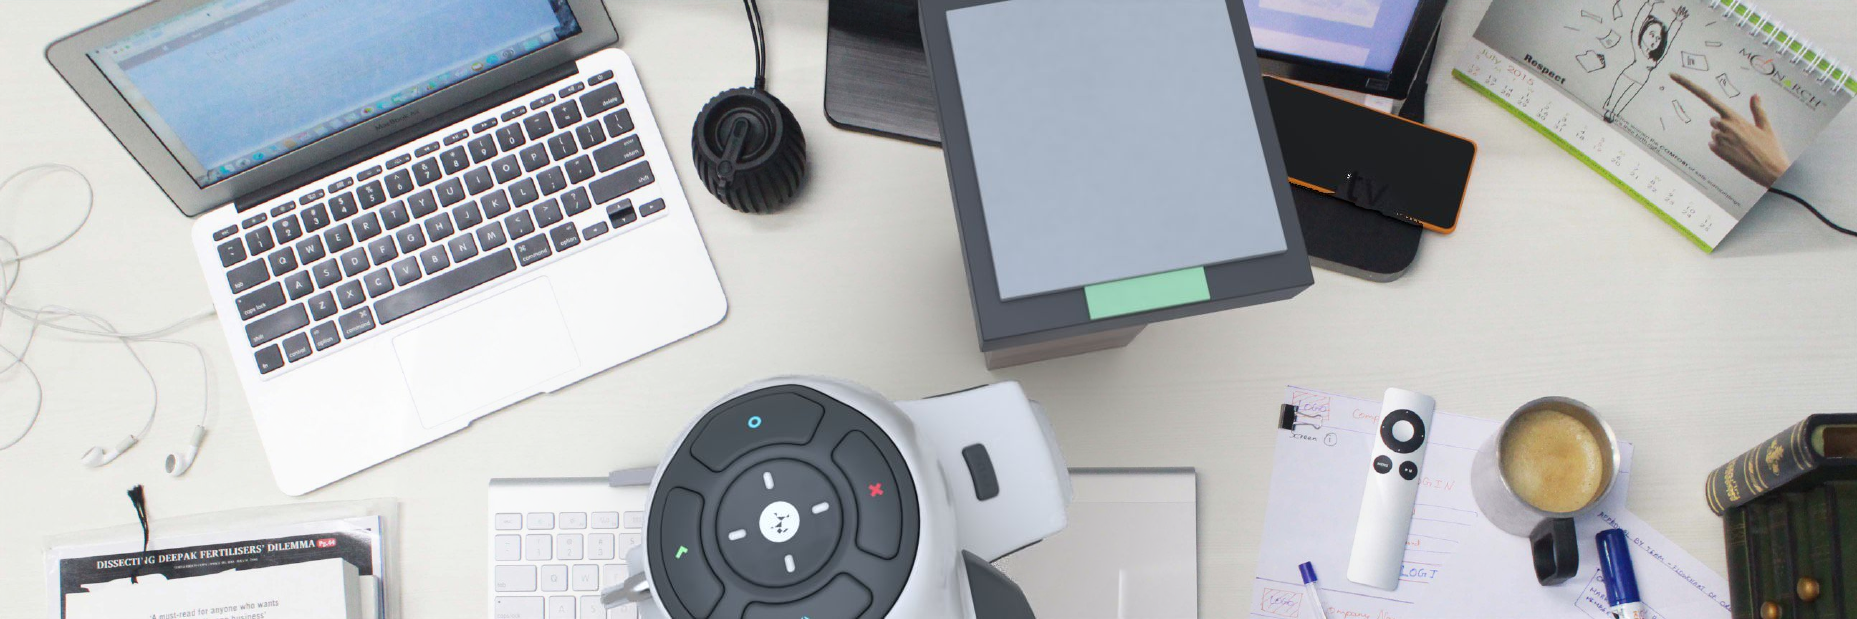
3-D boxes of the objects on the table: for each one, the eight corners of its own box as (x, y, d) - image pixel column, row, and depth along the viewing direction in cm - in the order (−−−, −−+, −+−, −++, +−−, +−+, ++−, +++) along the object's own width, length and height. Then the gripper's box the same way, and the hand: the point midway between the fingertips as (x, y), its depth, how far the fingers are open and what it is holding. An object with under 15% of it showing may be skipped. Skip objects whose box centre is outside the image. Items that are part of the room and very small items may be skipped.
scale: (1292, 299, 46) (1321, 280, 43) (980, 353, 46) (983, 339, 43) (1211, -28, 50) (1231, -70, 46) (918, 21, 49) (916, -17, 46)
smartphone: (1255, 73, 78) (1258, 69, 77) (1475, 146, 77) (1481, 141, 76) (1225, 164, 77) (1228, 160, 76) (1449, 239, 75) (1454, 236, 75)
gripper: (606, 686, 40) (690, 643, 54) (1108, 515, 41) (1066, 515, 55) (565, 526, 42) (657, 523, 55) (1054, 364, 43) (1026, 401, 56)
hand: (865, 518), depth 55 cm, fingers open, 8 cm apart
